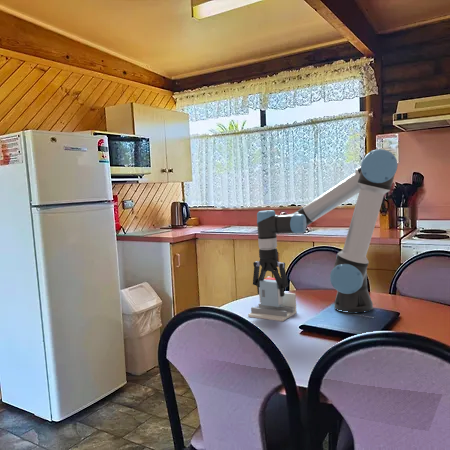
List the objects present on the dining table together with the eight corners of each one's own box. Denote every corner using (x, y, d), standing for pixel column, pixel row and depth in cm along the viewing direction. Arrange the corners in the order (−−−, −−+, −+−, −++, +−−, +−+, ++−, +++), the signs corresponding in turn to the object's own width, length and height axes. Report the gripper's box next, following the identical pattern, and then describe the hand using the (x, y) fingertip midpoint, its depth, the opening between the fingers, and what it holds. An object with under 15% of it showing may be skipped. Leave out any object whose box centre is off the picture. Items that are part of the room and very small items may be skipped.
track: (296, 312, 172) (295, 293, 171) (282, 321, 162) (281, 301, 161) (263, 308, 181) (261, 290, 181) (248, 316, 172) (247, 297, 171)
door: (282, 304, 170) (280, 280, 170) (277, 307, 168) (276, 282, 167) (265, 302, 175) (263, 279, 174) (260, 304, 172) (259, 281, 171)
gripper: (295, 247, 166) (298, 303, 168) (251, 246, 179) (254, 298, 180) (286, 250, 160) (289, 308, 162) (241, 249, 173) (245, 302, 174)
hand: (271, 302), depth 171 cm, fingers closed on door, 8 cm apart
